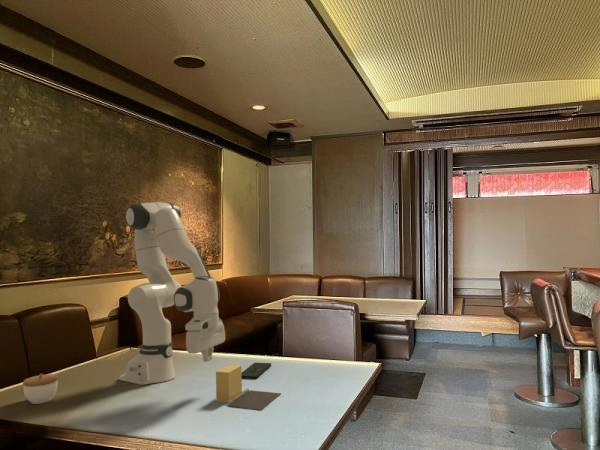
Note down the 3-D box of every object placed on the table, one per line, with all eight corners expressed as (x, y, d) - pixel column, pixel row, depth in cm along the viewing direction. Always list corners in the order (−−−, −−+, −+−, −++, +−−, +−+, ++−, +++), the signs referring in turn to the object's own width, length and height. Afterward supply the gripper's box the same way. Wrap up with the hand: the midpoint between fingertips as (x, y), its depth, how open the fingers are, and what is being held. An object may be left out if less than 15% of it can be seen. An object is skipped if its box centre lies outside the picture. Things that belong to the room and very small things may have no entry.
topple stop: (225, 406, 145) (225, 403, 145) (247, 390, 160) (247, 388, 160) (261, 410, 140) (261, 407, 140) (280, 394, 155) (280, 391, 155)
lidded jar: (21, 408, 147) (21, 380, 148) (24, 399, 157) (24, 372, 157) (57, 402, 152) (57, 375, 153) (58, 393, 162) (58, 368, 162)
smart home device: (237, 375, 176) (254, 362, 195) (237, 379, 176) (254, 366, 195) (256, 376, 174) (272, 362, 193) (257, 380, 174) (272, 366, 193)
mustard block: (216, 401, 150) (215, 371, 151) (229, 392, 159) (229, 364, 159) (229, 402, 148) (228, 372, 149) (241, 394, 157) (241, 365, 157)
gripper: (214, 317, 169) (215, 353, 168) (182, 326, 149) (183, 367, 149) (228, 317, 166) (230, 354, 165) (198, 326, 147) (199, 368, 146)
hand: (207, 360), depth 157 cm, fingers closed
